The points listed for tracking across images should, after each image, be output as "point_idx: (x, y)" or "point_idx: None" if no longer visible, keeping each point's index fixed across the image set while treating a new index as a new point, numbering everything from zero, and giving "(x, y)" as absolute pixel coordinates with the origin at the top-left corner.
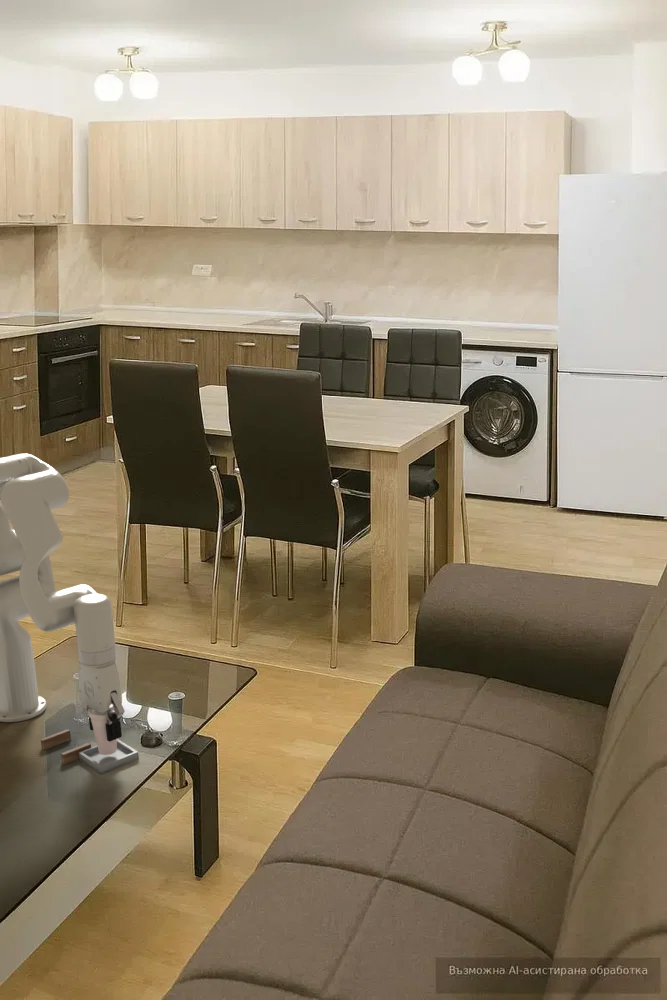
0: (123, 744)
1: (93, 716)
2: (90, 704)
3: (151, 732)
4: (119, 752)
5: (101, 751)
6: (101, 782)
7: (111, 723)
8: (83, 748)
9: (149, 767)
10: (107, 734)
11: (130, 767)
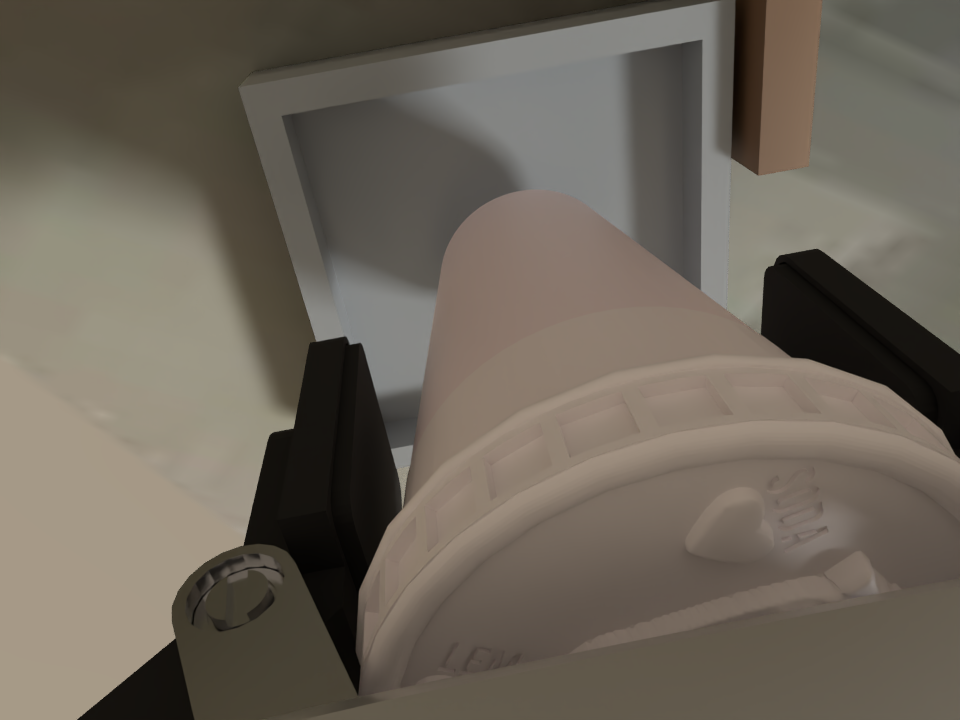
0: None
1: (557, 446)
2: (833, 712)
3: None
4: None
5: (491, 210)
6: (69, 7)
7: (196, 605)
8: (756, 77)
9: (171, 457)
10: (308, 394)
11: (249, 343)
